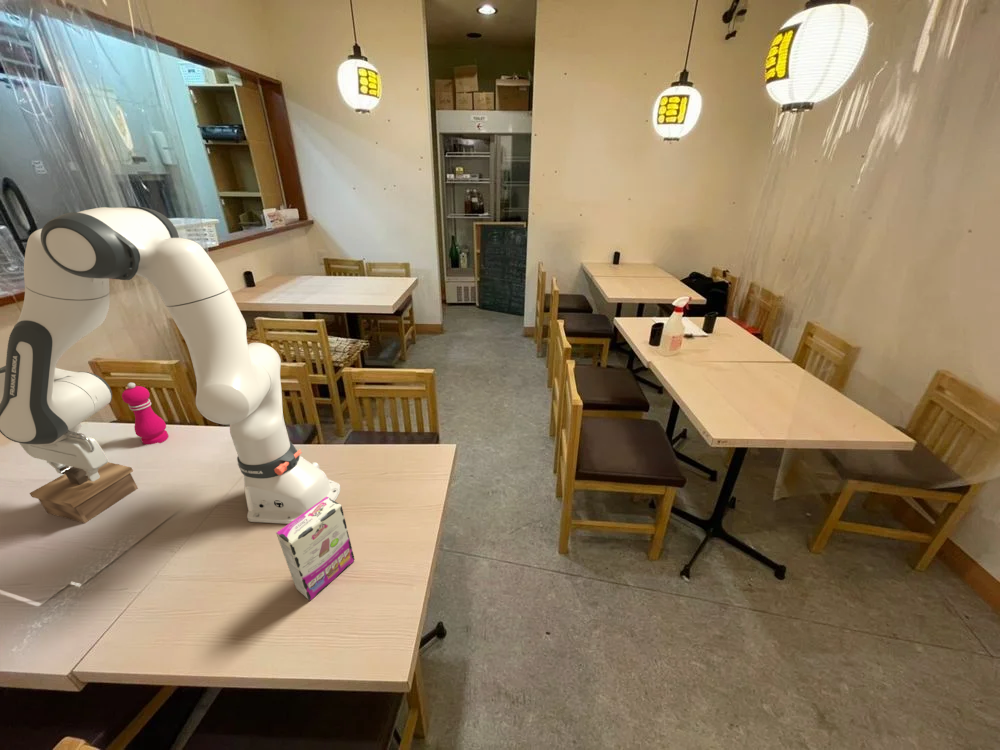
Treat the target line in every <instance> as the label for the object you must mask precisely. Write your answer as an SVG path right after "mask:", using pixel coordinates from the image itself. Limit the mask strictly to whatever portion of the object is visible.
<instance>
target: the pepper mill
mask: <svg viewBox="0 0 1000 750" xmlns="http://www.w3.org/2000/svg"><path fill="white" fill-rule="evenodd" d="M126 387H127V388H126V389H124V391H123V392H122V393H121V398H122V400H123V402H124V403H126V404H128V405H127V406H128V407H129V410H130V411H132V412H133V413H134V414H133V415H134V418H135V420H134V427H133V428H134V432H135V434H136V436H137V437H139V438H140V440H141V442H142V444H143V445H146V446H147V445H149V446H150V445H156V444H157V443H158V444H161V443H164V442H166V441H167V440H168V439H169V434H168V432H167V430H166V428H167V424H166V422H165V420H164V419H163V418H162V417H160V416H159V415H158V414H157V413H155V411H154V410H153V408H152V406H151V405H152V402H151V399H150V395H151V394H150V392H149V389H147V388H146V387H144V386H141V385H136V383H135V382H128V383H127V385H126Z"/></svg>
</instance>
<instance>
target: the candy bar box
mask: <svg viewBox="0 0 1000 750" xmlns="http://www.w3.org/2000/svg"><path fill="white" fill-rule="evenodd" d="M346 522H347V521H346V518H345V515H344V509H343V507H342V504H340V503H338V502H337V501H336V500H335V501H333V500H331V499H330V498H329V497H327V496H326V497H325V498H324V499H322V500H321V501H320V502H318V503H317V504H315V505H314V506H313V507H311V508H310V509H308V510H307V511H306V512H304V513H303V514H301V515H300V516H299V517H297V518H296V519H294V520H293V521H292V522H290V523H289V524H285V525H284V526H283V527H282V528H280V529H279V530H277V531H276V532H275V534H276V536H277V540H278V542H279V544H280V546H281V550H282V553H283V556H284V559H285V561H286V564H287V566H288V570H289V572H290V576H291V578H292V581H293V583H294V586H295V589H296V590H297V591H298V593H301V594H302V595H303V596H304V597H305V598H306V599H307V600H308V601H312V600H313V599H314V598H315V597H316V596H317V595H319V594H320V593H321V592H323V590H324V589H326V587H328V585H329V584H331V583H332V582H333V581H334V580H335V579H336V578H338V576H339V575H340V574H341V573H343V572H344V571H345V570H346V569H347V568H348V567H349V566H350V565H351V564H353V563H354V562H355V561H356V560H355V556H354V552H353V547H352V543H351V539H350V535H349V530H348V526H347V523H346ZM354 560H355V561H354ZM353 561H354V562H353ZM330 582H331V583H330Z"/></svg>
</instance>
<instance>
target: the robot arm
mask: <svg viewBox="0 0 1000 750" xmlns="http://www.w3.org/2000/svg"><path fill="white" fill-rule="evenodd" d="M179 236H180V235H179V233H178V231H177V229H176V227H175V225H174V223H173V222H172V221H171V220H170V219H169V218H168V217H167V216H166V215H164V214H163V213H161V212H159V211H157V210H154V209H152V208H148V207H143V206H137V205H136V206H133V205H131V206H125V207H105V206H102V207H96V208H91V209H85V210H81V211H77V212H74V211H73V212H67V213H64V214H60V215H58V216H55V217H54V218H52V219H50V220H48V222H47V223H45V224H44V225H43V226H42V228H39V229H36V230H35V231H33V232H32V233H31V234H30V235H29V237H28V239H27V242H26V247H25V252H24V261H23V278H24V298H23V299H24V300H23V303H22V308H21V312H20V314H19V317H18V319H17V321H16V323H15V325H14V327H13V329H12V330H11V332H10V334H9V337H8V340H7V341H8V342H7V349H6V358H5V359H6V360H5V365H4V366H1V367H0V434H1V435H3V437H5V438H6V439H8V440H10V441H12V442H14V443H19V445H20V446H21V447H22V449H23V450H24V451H25V453H26V454H27V455H29V456H30V457H31V458H34V459H38V460H43V461H46V463H47V464H49V465H50V466H51V467H52V468H54V469H55V471H56V472H57V474H60V475H61V474H62V475H64V474H65V472H64V471H65V470H67V469H69V468H71V467H76V468H80V469H83V470H84V471H86V475H85V477H86V478H87V480H89V481H95V480H97V479H99V478H100V475H99V473H98V468H100V467H102V466H104V465H105V464H107V463H108V462H109V458H108V456H107V455H106V453H105V451H104V449H103V448H102V447H101V444H99V442H98V441H97V440H96V439H95V438H93V437H91V436H89V435H85V434H84V433H80V432H79V431H80V430H81V429H82V424H81V423H82V422H84V421H86V420H87V419H89V418H91V417H92V416H93V415H95V414H96V413H98V412H100V411H101V410H103V409H104V408H106V407H107V406H108V405H110V403H111V402H112V400H113V391H112V389H111V387H110V384H108V383H107V381H106V380H105V379H104V378H103V377H101V376H99V374H96V373H92V372H89V371H73V370H67V369H63V368H58V367H57V364H58V362H59V360H60V359H61V358H62V357H63V355H64V354H65V353H66V352H67V351H68V350H69V349H70V348H71V347H73V346H74V345H76V344H77V343H78V342H79V341H80V340H81V339H83V338H84V337H87V335H89V334H91V333H92V332H94V331H95V330H96V329H98V328H99V327H100V326H102V324H104V322H105V320H106V318H107V316H108V314H109V310H110V306H111V305H110V304H111V295H110V294H111V291H110V290H111V289H110V279H113V280H120V281H121V280H122V281H130V280H132V279H133V278H135V276H138V277H141V278H144V279H145V280H147V281H148V282H149V283H150V284H151V285H152V286H153V287H154V288H155V291H156V292H157V293H158V295H159V297H160V299H161V301H162V302H163V304H164V306H165V308H166V310H167V311H168V313H169V314H170V316H171V318H172V320H173V322H174V323H175V325H176V326H177V328H178V331H179V333H180V334H181V335H182V337H183V340H184V341H185V344H186V346H187V349H188V352H189V355H190V359H191V363H192V366H193V367H192V368H193V372H194V375H195V380H196V395H195V405H196V408H197V410H198V412H199V413H200V415H202V416H203V417H204V418H205V419H207V420H208V421H211V422H213V423H216V424H220V425H229V433H230V437H231V441H232V443H233V446H234V449H235V451H236V454H237V458H236V460H237V465H238V468H239V470H240V472H241V475H243V481H244V493H245V494H244V495H245V500H246V508H247V510H248V511H247V515H246V518H247V521H248V522H251V523H269V524H284V525H287V524H289V523H290V522H292V521H293V520H294V519H296V518H297V517H299V516H300V515H301V514H303V513H304V512H306V511H307V510H308V509H310V508H311V507H313V506H314V505H315V504H317V503H318V502H320V501H321V500H322V499H324V498H325V497H326V496H327V497H329V498H330V499H331V500H333V501H335V502H336V500H337V498H338V496H339V494H340V492H341V485H340V483H339V482H336V481H334V480H332V479H330V478H328V476H327V474H326V473H325V472H324V470H322V469H321V468H320V465H319V464H318V462H314V461H313V462H312V463H311V462H310V461H309V460H307V459H305V458H304V457H303V456H301V454H302V453H303V452H302V449H301V448H300V449H298V450H297V449H296V447H295V445H294V444H293V442H292V441H291V440H290V438H289V434H288V431H287V430H288V429H287V427H286V423H285V419H284V413H283V411H284V410H283V394H282V393H283V391H282V383H281V381H282V380H281V366H282V362H281V361H282V360H281V356H280V355H279V353H278V352H277V350H276V349H274V348H273V347H271V346H270V345H268V344H266V343H262V342H252V343H251V342H250V343H248V337H247V323H246V320H245V318H244V316H243V314H242V312H241V310H240V307H239V306H238V304H237V302H236V300H235V298H234V296H233V294H232V291H231V290H230V287H229V286H228V285H227V281H226V280H225V278H224V277H223V275H222V273H221V272H220V270H219V269H218V267H217V266H216V264H215V262H214V261H213V260H212V258H211V257H210V256H209V254H208V253H207V252H206V250H205V249H204V248H203V247H202V246H201V244H200V243H197V242H196V241H194V240H192V239H188V238H182V237H179Z"/></svg>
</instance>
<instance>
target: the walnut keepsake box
mask: <svg viewBox="0 0 1000 750" xmlns="http://www.w3.org/2000/svg"><path fill="white" fill-rule="evenodd" d="M138 489H139V487H138V485H137V483H136V481H135V480H134V478H133V476H132V474H131V473H129V474H128V475H126V476H125V477H123V478H121V479H120V480H118V481H116V482H115V483H113V484H112V485H110V486H108V487H107V488H105V489H103V490H102V491H100V492H99V493H97V494H95V495H94V496H92V497H90V498H89V499H87V500H86V501H84V502H82V503H81V504H79V505H78V506H76V507H74V508H72V507H68V506H64V505H60V504H56V503H52V502H49V501H45V500H41V499H38V501H39V502H40V504H41V505H42V507H43V508H44V510H45V512H47V514H50V515H54V516H58V517H61V518H64V519H67V520H72V521H75V522H79V523H83V524H86V523H88V522H89V521H91V520H92V519H94V518H96V517H97V516H98V515H100V514H102V513H103V512H104V511H106V510H108V509H109V508H111V507H112V506H114V505H116V504H117V503H118V502H120V501H121V500H123V499H125V498H126V497H128V496H129V495H130V494H132V493H133V492H135V491H136V490H138Z"/></svg>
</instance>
